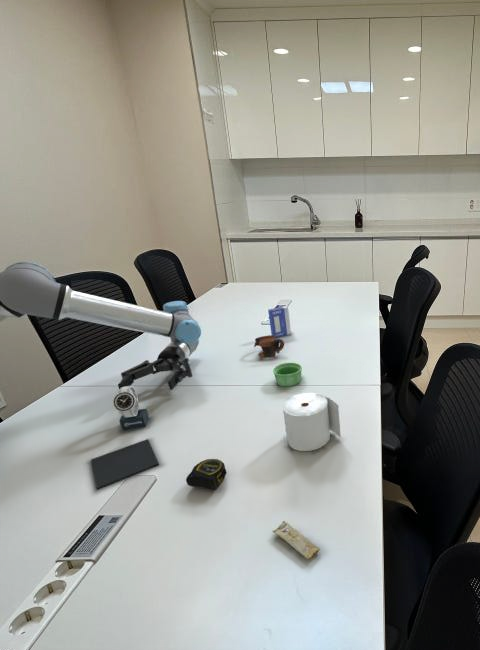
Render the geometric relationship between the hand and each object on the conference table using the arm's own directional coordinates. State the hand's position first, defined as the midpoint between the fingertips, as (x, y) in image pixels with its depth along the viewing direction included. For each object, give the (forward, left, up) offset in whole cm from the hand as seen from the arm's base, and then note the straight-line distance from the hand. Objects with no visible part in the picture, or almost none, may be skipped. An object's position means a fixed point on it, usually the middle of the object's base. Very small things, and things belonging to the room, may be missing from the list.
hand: (145, 387), depth 110 cm
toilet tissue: (+43, +28, -7) cm, 52 cm away
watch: (+7, -5, -7) cm, 11 cm away
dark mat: (+23, -10, -6) cm, 26 cm away
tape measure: (+43, +3, -7) cm, 44 cm away
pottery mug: (-12, +43, -7) cm, 45 cm away
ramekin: (+12, +38, -7) cm, 40 cm away
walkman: (-27, +55, -7) cm, 61 cm away
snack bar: (+68, +10, -6) cm, 69 cm away
